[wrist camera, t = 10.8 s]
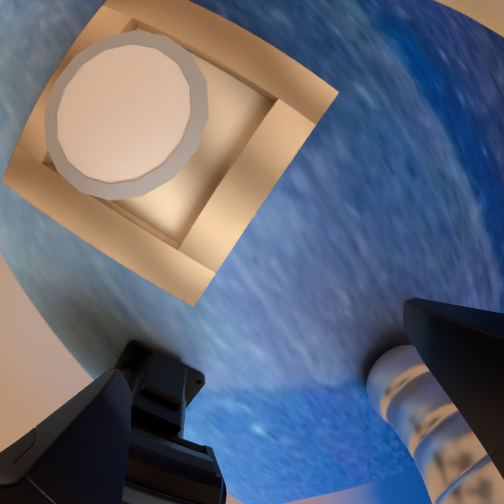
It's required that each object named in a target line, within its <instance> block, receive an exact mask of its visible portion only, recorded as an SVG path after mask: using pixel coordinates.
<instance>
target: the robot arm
mask: <svg viewBox="0 0 504 504" xmlns="http://www.w3.org/2000/svg"><path fill="white" fill-rule="evenodd" d="M403 326H404V330H405V332H406V333H407V335H408V337H409V338H410V340H411V342H412V343H413V345H414V347H415V348H416V350H417V352H418V354H419V355H420V357H421V359H422V360H423V362H424V364H425V365H426V366H427V368H428V369H429V371H430V372H431V373H432V375H433V376H434V377H435V379H436V380H437V381H438V383H439V384H440V386H441V387H442V388H443V390H444V391H445V392H446V394H447V395H448V397H449V398H450V399H451V401H452V402H453V404H454V405H455V406H456V408H457V409H458V411H459V412H460V414H461V415H462V416H463V418H464V419H465V421H466V422H467V424H468V425H469V427H470V428H471V430H472V431H473V433H474V434H475V436H476V437H477V439H478V440H479V442H480V443H481V445H482V446H483V448H484V449H485V451H486V452H487V454H488V455H489V457H490V458H491V461H492V462H493V464H494V465H495V467H496V468H497V470H498V472H499V473H500V475H501V477H502V478H503V480H504V314H503V313H497V312H492V311H486V310H480V309H475V308H469V307H464V306H458V305H453V304H448V303H442V302H437V301H431V300H426V299H421V298H413V299H410V300H407V301H405V303H404V306H403ZM131 346H134V347H135V348H132V347H131ZM196 380H201V381H196ZM204 384H205V377H204V376H203V375H201V374H199V373H197V372H195V371H193V370H191V369H189V368H187V367H186V366H184V365H182V364H180V363H178V362H176V361H174V360H172V359H170V358H168V357H167V356H165V355H163V354H161V353H159V352H156V351H154V350H152V349H150V348H148V347H147V346H145V345H143V344H141V343H139V342H137V341H135V340H129V341H128V343H127V344H126V346H125V348H124V350H123V352H122V354H121V355H120V357H119V359H118V361H117V363H116V365H115V367H114V369H113V370H108V371H106V372H104V373H103V374H102V375H101V376H99V377H98V378H97V379H96V380H94V381H93V382H92V383H91V384H90V385H88V386H87V387H85V388H84V389H83V390H82V391H80V392H79V393H78V394H77V395H75V396H74V397H73V398H71V399H70V400H69V401H68V402H66V403H65V404H64V405H63V406H61V407H60V408H59V409H58V410H56V411H55V412H54V413H52V414H51V415H50V416H49V417H47V418H46V419H45V420H44V421H42V422H41V423H40V424H38V425H37V426H36V428H33V429H32V430H31V431H29V433H27V434H26V435H24V436H23V437H21V438H20V439H19V440H17V441H16V442H15V443H13V444H12V445H10V446H9V447H7V448H6V449H4V450H3V451H1V452H0V504H225V503H226V495H227V493H226V485H225V482H224V479H223V477H222V474H221V471H220V469H219V466H218V463H217V460H216V458H215V455H214V452H213V449H212V448H211V447H208V446H206V445H203V446H201V445H199V444H196V443H193V442H190V441H187V440H185V439H183V432H184V420H185V409H186V407H187V406H188V405H189V403H190V402H191V401H192V400H193V398H194V397H195V396H196V395H197V393H198V392H199V391H200V389H201V388H202V387H203V386H204Z"/></svg>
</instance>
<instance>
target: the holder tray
mask: <svg viewBox="0 0 504 504" xmlns="http://www.w3.org/2000/svg"><path fill="white" fill-rule="evenodd" d="M130 31H142V32H148V33H154V34H159V35H164V36H167V37H169V38H170V39H171V40H173V41H174V42H176V43H177V44H179V45H180V46H182V47H183V48H184V49H186V50H187V51H189V52H190V53H191V54H192V55H193V57H194V59H195V61H196V63H197V64H198V66H199V68H200V70H201V72H202V74H203V75H204V77H205V79H206V81H207V93H208V109H209V117H208V120H207V123H206V126H205V128H204V131H203V134H202V137H201V140H200V143H199V146H198V149H197V151H196V152H195V153H194V154H193V156H192V157H191V158H190V159H189V160H188V162H187V163H186V164H185V165H184V166H183V168H182V169H181V170H180V171H179V172H178V174H177V175H176V176H175V177H174V179H172V180H170V181H168V182H166V183H165V184H163V185H161V186H159V187H158V188H156V189H154V190H152V191H151V192H149V193H147V194H146V195H144V196H140V197H133V198H125V199H118V200H111V201H109V200H106V199H102V198H99V197H95V196H92V195H89V194H85V193H82V192H80V191H78V190H77V189H76V188H75V187H74V186H73V185H72V184H70V183H69V182H68V181H67V180H66V179H65V178H64V177H63V176H61V175H60V174H59V173H58V171H57V169H56V167H55V165H54V163H53V161H52V158H51V156H50V154H49V152H48V149H47V147H46V143H45V110H46V107H47V104H48V101H49V98H50V95H51V92H52V89H53V86H54V83H55V82H56V80H57V79H58V77H59V76H60V75H61V73H62V72H63V71H64V70H65V68H66V67H67V66H68V64H69V63H70V62H71V61H72V59H73V58H74V57H75V56H76V55H77V54H79V53H80V52H82V51H83V50H85V49H86V48H88V47H89V46H91V45H92V44H94V43H96V42H97V41H99V40H100V39H102V38H104V37H108V36H112V35H116V34H121V33H125V32H130ZM338 93H339V92H338V91H336V90H335V89H334V88H333V87H331V86H330V85H329V84H327V83H326V82H325V81H323V80H322V79H321V78H319V77H318V76H316V75H315V74H314V73H312V72H311V71H309V70H308V69H307V68H305V67H304V66H302V65H301V64H299V63H298V62H296V61H295V60H294V59H292V58H291V57H289V56H288V55H286V54H284V53H283V52H281V51H280V50H278V49H277V48H275V47H274V46H272V45H270V44H269V43H267V42H265V41H264V40H262V39H261V38H259V37H257V36H255V35H254V34H252V33H250V32H249V31H247V30H245V29H243V28H242V27H240V26H238V25H236V24H234V23H233V22H231V21H229V20H227V19H225V18H223V17H221V16H219V15H217V14H215V13H213V12H211V11H209V10H207V9H205V8H203V7H201V6H199V5H197V4H195V3H193V2H191V1H188V0H107V1H106V2H105V3H104V4H103V5H102V7H101V8H100V9H99V10H98V11H97V13H96V14H95V15H94V16H93V18H92V19H91V20H90V21H89V23H88V24H87V25H86V27H85V28H84V29H83V31H82V32H81V33H80V35H79V36H78V37H77V39H76V40H75V42H74V43H73V45H72V46H71V47H70V49H69V50H68V52H67V53H66V55H65V56H64V58H63V59H62V61H61V62H60V64H59V66H58V67H57V69H56V70H55V72H54V74H53V75H52V77H51V78H50V80H49V82H48V84H47V85H46V87H45V89H44V90H43V92H42V94H41V96H40V98H39V99H38V101H37V103H36V105H35V107H34V109H33V111H32V113H31V115H30V117H29V119H28V121H27V123H26V125H25V127H24V129H23V131H22V133H21V135H20V138H19V140H18V142H17V144H16V147H15V149H14V151H13V154H12V156H11V158H10V161H9V163H8V166H7V168H6V171H5V174H4V176H3V179H2V182H3V183H4V184H6V185H7V186H8V187H10V188H11V189H12V190H14V191H15V192H16V193H18V194H19V195H20V196H22V197H23V198H24V199H26V200H27V201H28V202H30V203H31V204H33V205H34V206H35V207H37V208H38V209H40V210H41V211H42V212H44V213H45V214H47V215H48V216H49V217H51V218H52V219H54V220H55V221H57V222H58V223H59V224H61V225H62V226H64V227H65V228H67V229H68V230H70V231H71V232H73V233H74V234H76V235H77V236H79V237H80V238H82V239H83V240H85V241H86V242H88V243H89V244H91V245H92V246H94V247H95V248H97V249H98V250H100V251H101V252H103V253H104V254H106V255H108V256H109V257H111V258H112V259H114V260H115V261H117V262H119V263H120V264H122V265H123V266H125V267H127V268H128V269H130V270H131V271H133V272H135V273H136V274H138V275H140V276H141V277H143V278H145V279H146V280H148V281H150V282H151V283H153V284H155V285H156V286H158V287H160V288H161V289H163V290H165V291H167V292H168V293H170V294H172V295H173V296H175V297H177V298H179V299H180V300H182V301H184V302H186V303H187V304H189V305H191V306H193V307H194V305H195V304H196V302H197V301H198V299H199V298H200V296H201V295H202V293H203V292H204V290H205V289H206V287H207V286H208V284H209V283H210V281H211V280H212V278H213V277H214V275H215V273H216V272H217V270H218V269H219V267H220V266H221V264H222V263H223V261H224V260H225V258H226V257H227V255H228V254H229V252H230V251H231V249H232V248H233V246H234V245H235V243H236V242H237V240H238V239H239V237H240V236H241V234H242V233H243V231H244V230H245V228H246V227H247V225H248V224H249V222H250V221H251V219H252V218H253V217H254V215H255V214H256V212H257V211H258V209H259V208H260V206H261V205H262V203H263V202H264V200H265V199H266V197H267V196H268V194H269V193H270V191H271V190H272V188H273V187H274V186H275V184H276V183H277V181H278V180H279V178H280V177H281V175H282V174H283V172H284V171H285V169H286V168H287V166H288V165H289V164H290V162H291V161H292V159H293V158H294V156H295V155H296V153H297V152H298V150H299V149H300V148H301V146H302V145H303V143H304V142H305V140H306V139H307V137H308V136H309V135H310V133H311V132H312V130H313V129H314V127H315V126H316V125H317V123H318V122H319V120H320V119H321V117H322V116H323V115H324V113H325V112H326V110H327V109H328V107H329V106H330V105H331V103H332V102H333V100H334V99H335V97H336V96H337V95H338Z"/></svg>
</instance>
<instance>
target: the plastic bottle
mask: <svg viewBox="0 0 504 504" xmlns="http://www.w3.org/2000/svg"><path fill="white" fill-rule="evenodd" d="M366 388H367V393H368V396H369V399H370V402H371V404H372V406H373V408H374V409H375V410H376V411H377V412H378V414H379V415H380V416H381V417H382V418H383V419H384V420H385V421H386V422H387V423H389V424H390V426H391V427H392V428H393V429H394V431H395V432H396V433H397V435H398V436H399V437H400V439H401V440H402V441H403V443H404V444H405V445H406V446H407V448H408V450H409V452H410V454H411V455H412V457H413V458H414V460H415V463H416V465H417V467H418V469H419V471H420V473H421V475H422V476H423V479H424V482H425V485H426V487H427V490H428V493H429V495H430V498H431V501H432V504H504V480H503V478H502V477H501V475H500V473H499V472H498V470H497V468H496V467H495V465H494V464H493V462H492V461H491V458H490V457H489V455H488V454H487V452H486V451H485V449H484V448H483V446H482V445H481V443H480V442H479V440H478V439H477V437H476V436H475V434H474V433H473V431H472V430H471V428H470V427H469V425H468V424H467V422H466V421H465V419H464V418H463V416H462V415H461V414H460V412H459V411H458V409H457V408H456V406H455V405H454V404H453V402H452V401H451V399H450V398H449V397H448V395H447V394H446V392H445V391H444V390H443V388H442V387H441V386H440V384H439V383H438V381H437V380H436V379H435V377H434V376H433V375H432V373H431V372H430V371H429V369H428V368H427V366H426V365H425V364H424V362H423V360H422V359H421V357H420V355H419V354H418V352H417V350H416V348H415V347H414V345H402V346H397V347H394V348H392V349H390V350H388V351H387V352H385V353H384V354H383V355H381V356H380V357H379V358H378V359H377V360H376V362H375V363H374V364H373V366H372V368H371V370H370V372H369V375H368V379H367V386H366Z"/></svg>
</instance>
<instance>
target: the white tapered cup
mask: <svg viewBox="0 0 504 504" xmlns="http://www.w3.org/2000/svg"><path fill="white" fill-rule="evenodd" d="M208 117H209V109H208V93H207V81H206V79H205V77H204V75H203V74H202V72H201V70H200V68H199V66H198V64H197V63H196V61H195V59H194V57H193V55H192V54H191V53H190V52H189V51H187V50H186V49H184V48H183V47H182V46H180V45H179V44H177V43H176V42H174V41H173V40H171V39H170V38H169V37H167V36H164V35H159V34H154V33H148V32H142V31H130V32H125V33H121V34H116V35H112V36H108V37H104V38H102V39H100V40H99V41H97V42H96V43H94V44H92V45H91V46H89V47H88V48H86V49H85V50H83V51H82V52H80V53H79V54H77V55H76V56H75V57H74V58H73V59H72V61H71V62H70V63H69V64H68V66H67V67H66V68H65V70H64V71H63V72H62V73H61V75H60V76H59V77H58V79H57V80H56V82H55V83H54V86H53V89H52V92H51V95H50V98H49V101H48V104H47V107H46V110H45V143H46V147H47V149H48V152H49V154H50V156H51V158H52V161H53V163H54V165H55V167H56V169H57V171H58V173H59V174H60V175H61V176H63V177H64V178H65V179H66V180H67V181H68V182H69V183H70V184H72V185H73V186H74V187H75V188H76V189H77V190H78V191H80V192H82V193H85V194H89V195H92V196H95V197H99V198H102V199H106V200H109V201H111V200H118V199H125V198H133V197H140V196H144V195H146V194H147V193H149V192H151V191H152V190H154V189H156V188H158V187H159V186H161V185H163V184H165V183H166V182H168V181H170V180H172V179H174V177H175V176H176V175H177V174H178V172H179V171H180V170H181V169H182V168H183V166H184V165H185V164H186V163H187V162H188V160H189V159H190V158H191V157H192V156H193V154H194V153H195V152H196V151H197V149H198V146H199V143H200V140H201V137H202V134H203V131H204V128H205V126H206V123H207V120H208Z"/></svg>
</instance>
